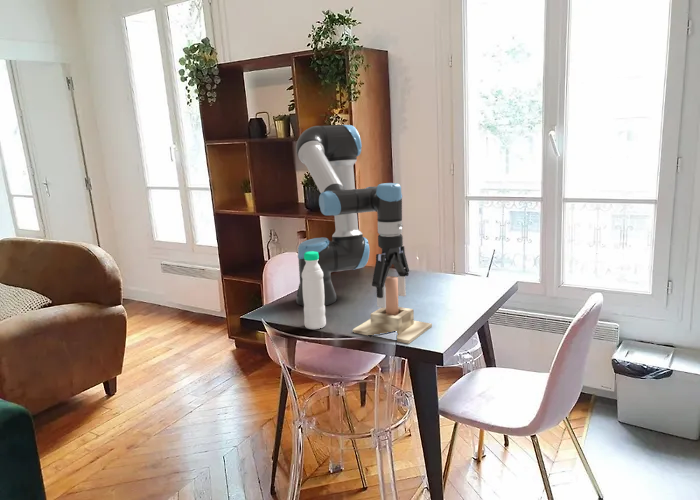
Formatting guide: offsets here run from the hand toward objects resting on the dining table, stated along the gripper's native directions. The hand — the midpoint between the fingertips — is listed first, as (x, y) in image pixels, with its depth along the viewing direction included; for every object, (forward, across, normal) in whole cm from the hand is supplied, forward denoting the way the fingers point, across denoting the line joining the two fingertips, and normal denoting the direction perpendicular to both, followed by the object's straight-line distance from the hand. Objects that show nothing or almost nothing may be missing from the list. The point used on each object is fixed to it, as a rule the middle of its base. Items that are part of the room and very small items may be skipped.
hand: (391, 301), depth 172 cm
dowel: (+8, 0, 0) cm, 8 cm away
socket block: (+9, 0, 0) cm, 9 cm away
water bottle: (+10, -9, +24) cm, 27 cm away
